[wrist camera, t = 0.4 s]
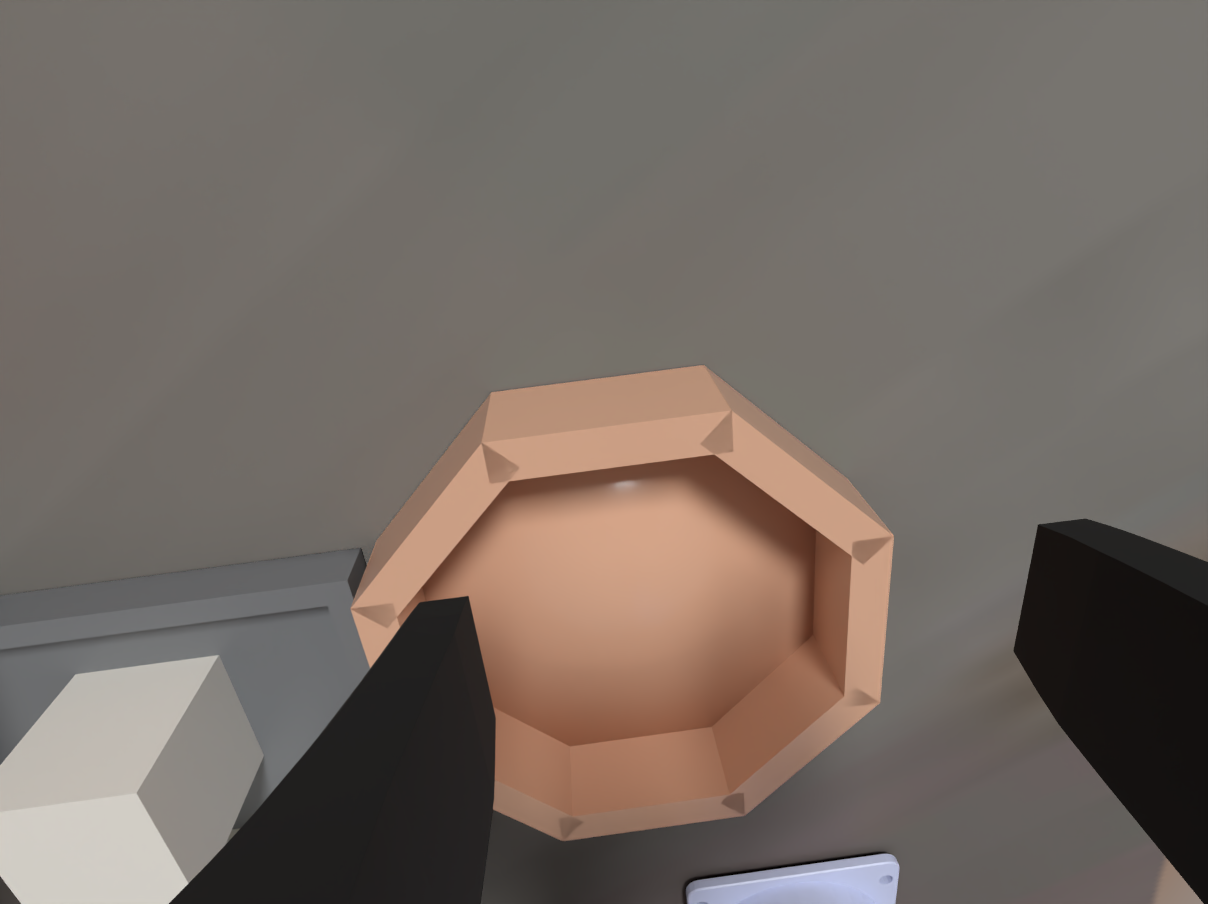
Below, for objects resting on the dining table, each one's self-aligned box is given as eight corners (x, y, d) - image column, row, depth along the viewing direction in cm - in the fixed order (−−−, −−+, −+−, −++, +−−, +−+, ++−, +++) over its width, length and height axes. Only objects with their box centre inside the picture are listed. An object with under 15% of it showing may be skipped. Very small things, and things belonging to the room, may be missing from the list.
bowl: (835, 719, 24) (872, 798, 21) (446, 773, 24) (433, 859, 21) (852, 345, 18) (906, 387, 15) (339, 411, 18) (302, 465, 15)
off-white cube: (264, 755, 22) (199, 903, 18) (132, 773, 22) (38, 925, 18) (218, 655, 20) (136, 793, 16) (75, 674, 20) (-44, 817, 16)
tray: (471, 905, 27) (467, 948, 25) (120, 955, 26) (97, 1001, 25) (360, 547, 20) (346, 580, 18) (-119, 610, 19) (-169, 649, 18)
